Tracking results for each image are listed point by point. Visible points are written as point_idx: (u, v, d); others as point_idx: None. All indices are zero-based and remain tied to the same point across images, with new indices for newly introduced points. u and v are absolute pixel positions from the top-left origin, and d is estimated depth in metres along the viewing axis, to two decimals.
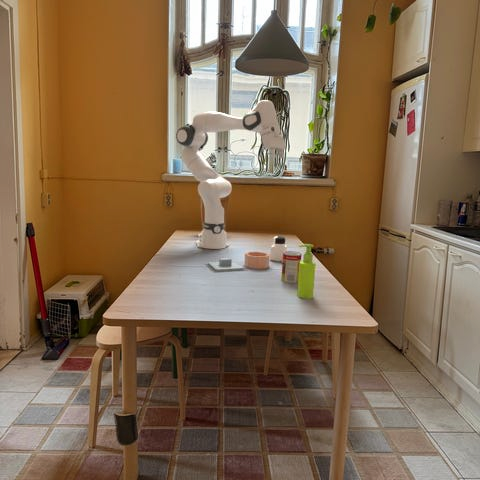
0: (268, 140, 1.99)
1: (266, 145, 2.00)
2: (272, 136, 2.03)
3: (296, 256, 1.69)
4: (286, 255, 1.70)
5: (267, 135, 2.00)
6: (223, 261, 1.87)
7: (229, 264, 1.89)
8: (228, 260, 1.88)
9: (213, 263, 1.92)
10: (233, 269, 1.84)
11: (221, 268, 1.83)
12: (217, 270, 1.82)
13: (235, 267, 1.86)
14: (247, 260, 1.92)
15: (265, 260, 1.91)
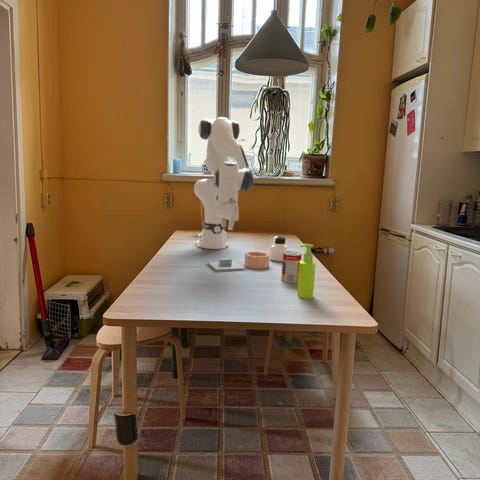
0: None
1: None
2: (220, 204, 1.88)
3: (296, 256, 1.69)
4: (286, 255, 1.70)
5: None
6: (223, 261, 1.87)
7: (229, 264, 1.89)
8: (228, 260, 1.88)
9: (213, 263, 1.92)
10: (233, 269, 1.84)
11: (221, 268, 1.83)
12: (217, 270, 1.82)
13: (235, 267, 1.86)
14: (247, 260, 1.92)
15: (265, 260, 1.91)
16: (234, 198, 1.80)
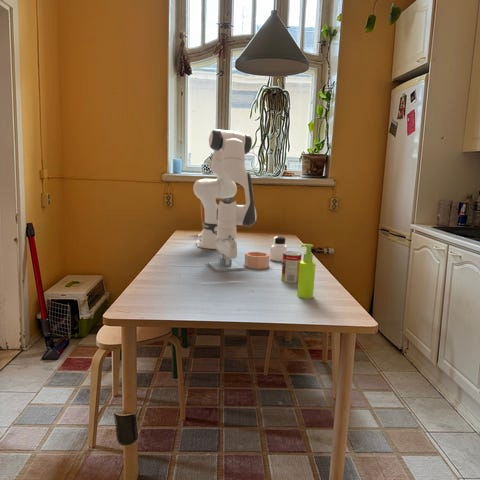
0: None
1: None
2: (219, 239, 1.91)
3: (296, 256, 1.69)
4: (286, 255, 1.70)
5: None
6: (223, 261, 1.87)
7: (229, 264, 1.89)
8: None
9: (213, 263, 1.92)
10: (233, 269, 1.84)
11: (221, 268, 1.83)
12: (217, 270, 1.82)
13: (235, 267, 1.86)
14: (247, 260, 1.92)
15: (265, 260, 1.91)
16: (232, 235, 1.84)
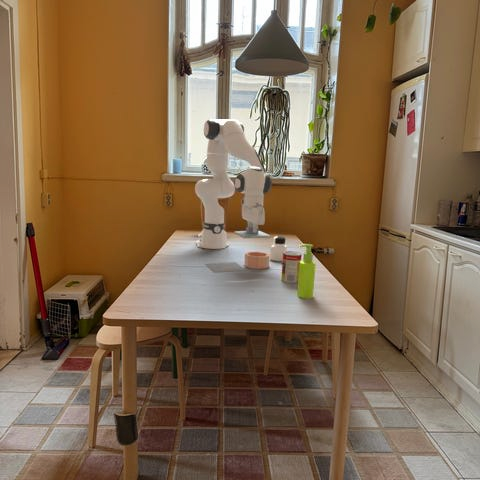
0: None
1: None
2: (246, 208, 1.93)
3: (296, 256, 1.69)
4: (286, 255, 1.70)
5: None
6: (250, 229, 1.89)
7: (256, 232, 1.90)
8: None
9: (240, 232, 1.93)
10: (260, 236, 1.86)
11: (248, 235, 1.85)
12: (245, 237, 1.83)
13: (262, 235, 1.88)
14: (247, 260, 1.92)
15: (265, 260, 1.91)
16: (260, 202, 1.85)
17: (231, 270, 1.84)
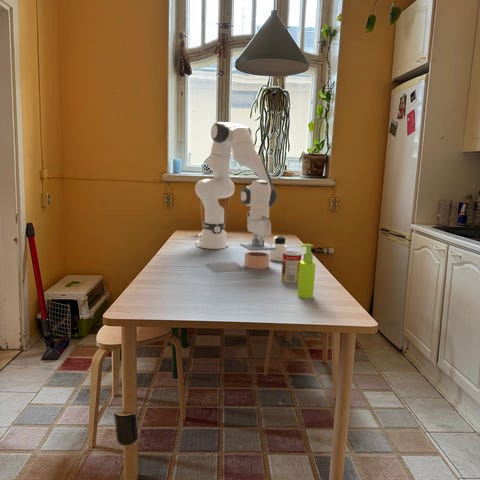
0: None
1: None
2: (251, 221, 1.95)
3: (296, 256, 1.69)
4: (286, 255, 1.70)
5: None
6: (256, 241, 1.91)
7: (262, 244, 1.93)
8: None
9: (246, 244, 1.96)
10: (266, 249, 1.88)
11: (255, 248, 1.87)
12: (251, 249, 1.86)
13: (268, 247, 1.90)
14: (247, 260, 1.92)
15: (265, 260, 1.91)
16: (266, 215, 1.88)
17: (231, 270, 1.84)
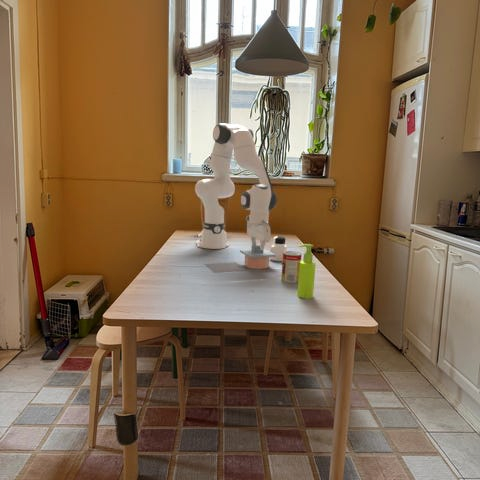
0: None
1: None
2: (251, 225, 1.96)
3: (296, 256, 1.69)
4: (286, 255, 1.70)
5: None
6: (255, 248, 1.92)
7: (261, 251, 1.93)
8: None
9: (245, 250, 1.96)
10: (266, 256, 1.89)
11: (254, 254, 1.88)
12: (251, 256, 1.86)
13: (267, 254, 1.91)
14: (247, 260, 1.92)
15: (265, 260, 1.91)
16: (265, 220, 1.88)
17: (231, 270, 1.84)
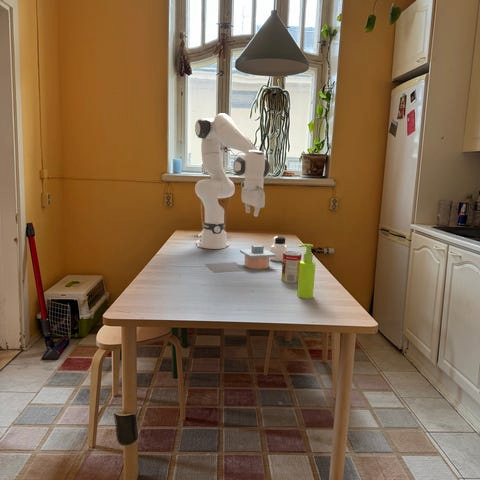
0: None
1: None
2: (245, 191, 1.95)
3: (296, 256, 1.69)
4: (286, 255, 1.70)
5: None
6: (255, 248, 1.92)
7: (261, 251, 1.93)
8: (260, 247, 1.93)
9: (245, 250, 1.96)
10: (266, 256, 1.89)
11: (254, 254, 1.88)
12: (251, 256, 1.86)
13: (267, 254, 1.91)
14: (247, 260, 1.92)
15: (265, 260, 1.91)
16: (260, 185, 1.87)
17: (231, 270, 1.84)
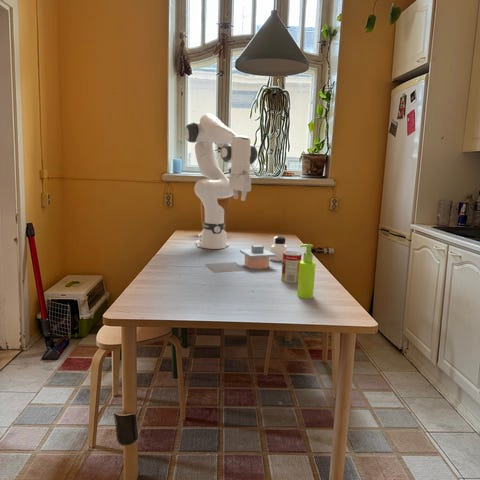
0: None
1: None
2: (233, 177, 1.97)
3: (296, 256, 1.69)
4: (286, 255, 1.70)
5: None
6: (255, 248, 1.92)
7: (261, 251, 1.93)
8: (260, 247, 1.93)
9: (245, 250, 1.96)
10: (266, 256, 1.89)
11: (254, 254, 1.88)
12: (251, 256, 1.86)
13: (267, 254, 1.91)
14: (247, 260, 1.92)
15: (265, 260, 1.91)
16: (246, 170, 1.90)
17: (231, 270, 1.84)
